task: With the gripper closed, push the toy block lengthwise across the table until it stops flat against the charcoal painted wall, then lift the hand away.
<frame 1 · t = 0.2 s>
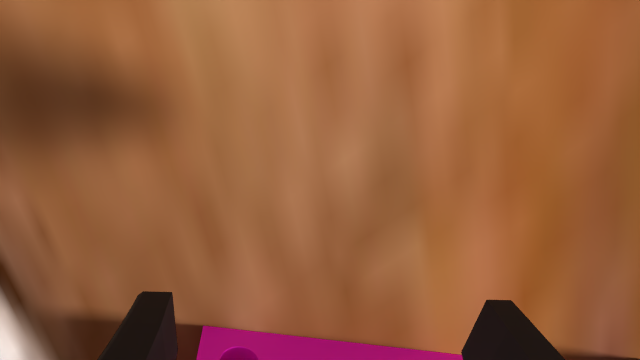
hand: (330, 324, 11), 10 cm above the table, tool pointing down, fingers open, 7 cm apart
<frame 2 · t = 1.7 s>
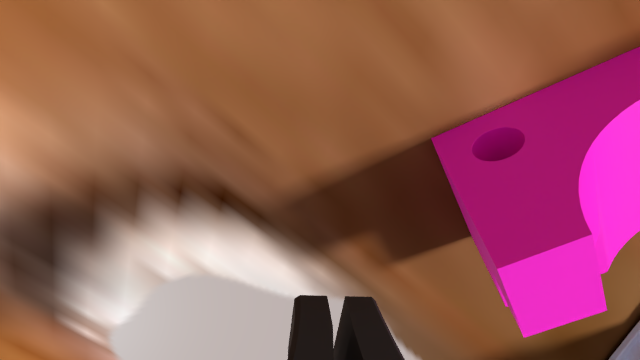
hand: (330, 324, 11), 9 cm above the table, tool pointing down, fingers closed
toy block: (619, 115, 20), on the table
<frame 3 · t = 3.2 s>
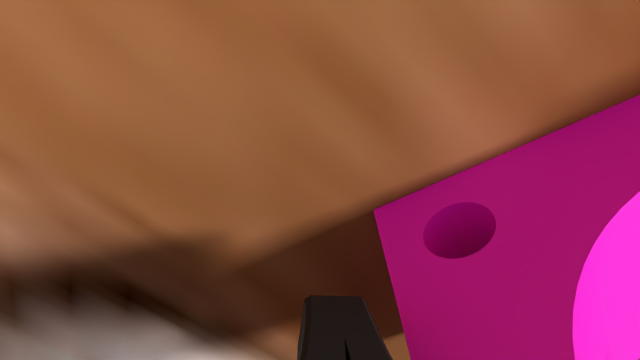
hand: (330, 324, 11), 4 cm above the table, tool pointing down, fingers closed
toy block: (631, 173, 14), on the table, touching gripper
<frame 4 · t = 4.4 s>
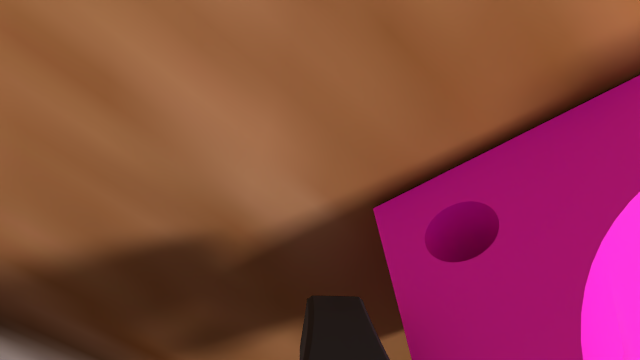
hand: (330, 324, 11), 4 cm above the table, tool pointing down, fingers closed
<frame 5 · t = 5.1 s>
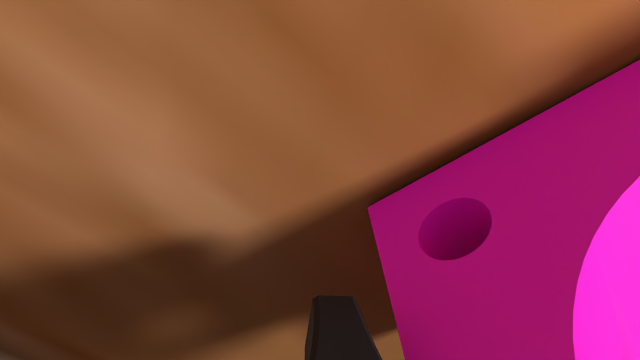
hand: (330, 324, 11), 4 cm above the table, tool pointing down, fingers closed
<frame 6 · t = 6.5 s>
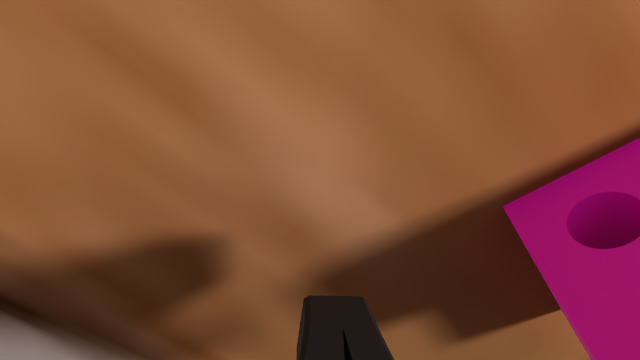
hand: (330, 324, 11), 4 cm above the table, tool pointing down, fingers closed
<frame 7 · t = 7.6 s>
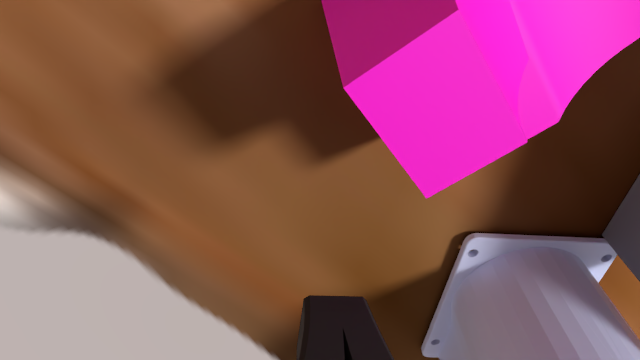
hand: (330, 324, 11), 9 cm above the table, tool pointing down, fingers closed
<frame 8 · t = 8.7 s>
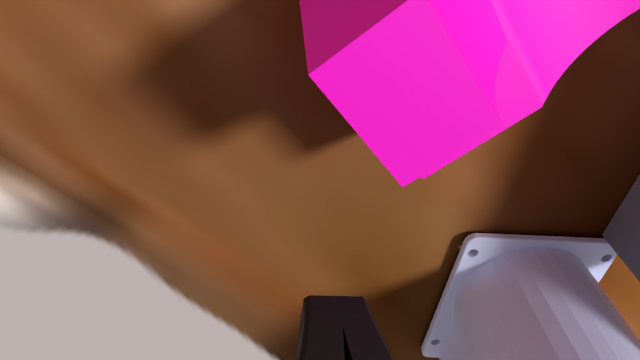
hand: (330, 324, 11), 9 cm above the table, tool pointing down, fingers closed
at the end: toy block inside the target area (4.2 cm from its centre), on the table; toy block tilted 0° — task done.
